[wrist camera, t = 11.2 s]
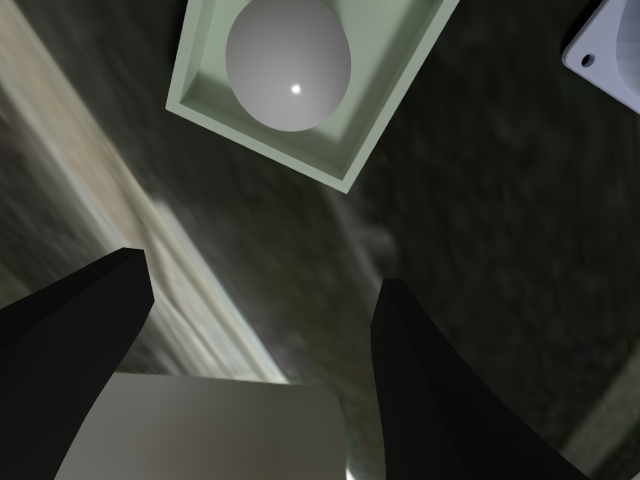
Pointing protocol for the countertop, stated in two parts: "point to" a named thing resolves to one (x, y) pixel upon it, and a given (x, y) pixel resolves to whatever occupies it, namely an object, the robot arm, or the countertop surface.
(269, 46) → the marked fuse
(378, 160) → the countertop surface
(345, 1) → the tray
